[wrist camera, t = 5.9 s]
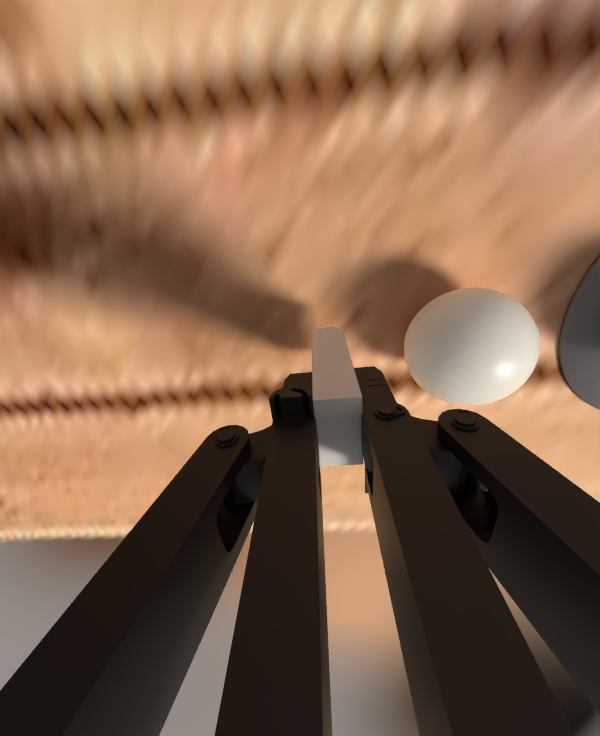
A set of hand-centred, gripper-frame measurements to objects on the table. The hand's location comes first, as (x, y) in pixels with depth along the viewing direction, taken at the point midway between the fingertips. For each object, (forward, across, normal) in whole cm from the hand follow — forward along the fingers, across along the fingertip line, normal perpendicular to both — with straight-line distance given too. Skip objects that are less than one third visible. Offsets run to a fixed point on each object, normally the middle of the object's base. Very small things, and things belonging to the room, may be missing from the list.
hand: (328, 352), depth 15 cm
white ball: (-1, +6, 0) cm, 7 cm away
